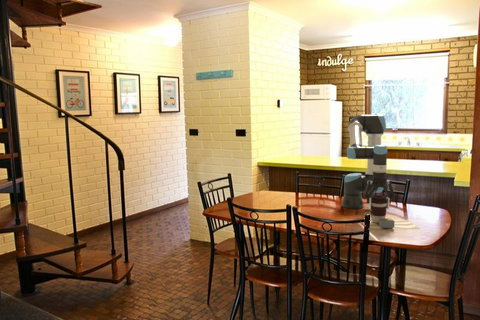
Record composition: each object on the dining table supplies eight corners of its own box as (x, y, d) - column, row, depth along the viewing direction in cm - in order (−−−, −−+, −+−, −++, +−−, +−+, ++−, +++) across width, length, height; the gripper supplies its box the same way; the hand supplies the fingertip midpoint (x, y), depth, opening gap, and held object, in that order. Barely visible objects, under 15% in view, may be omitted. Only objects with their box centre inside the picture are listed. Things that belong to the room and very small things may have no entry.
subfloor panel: (360, 223, 242) (360, 220, 242) (406, 222, 243) (406, 219, 242) (370, 232, 225) (370, 229, 224) (419, 231, 225) (419, 228, 225)
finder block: (378, 226, 230) (378, 218, 229) (390, 226, 230) (391, 217, 229) (381, 229, 225) (382, 220, 224) (394, 229, 225) (394, 220, 224)
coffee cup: (380, 224, 230) (381, 199, 228) (366, 221, 238) (366, 196, 236) (390, 221, 236) (391, 196, 234) (376, 218, 244) (376, 194, 242)
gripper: (362, 173, 230) (361, 210, 232) (401, 172, 230) (400, 209, 233) (358, 170, 237) (357, 207, 240) (396, 170, 237) (395, 206, 240)
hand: (378, 208), depth 236 cm, fingers open, 10 cm apart
